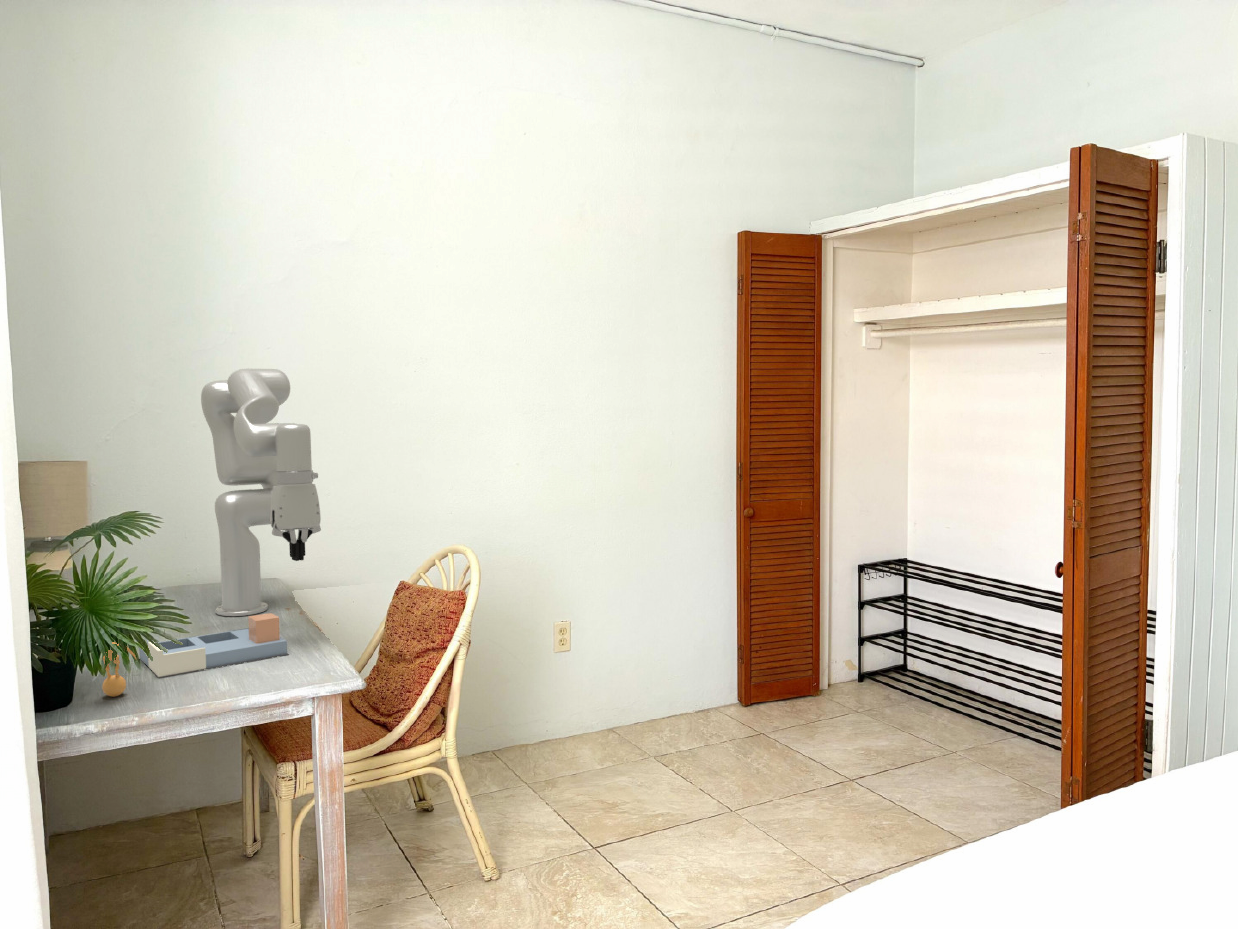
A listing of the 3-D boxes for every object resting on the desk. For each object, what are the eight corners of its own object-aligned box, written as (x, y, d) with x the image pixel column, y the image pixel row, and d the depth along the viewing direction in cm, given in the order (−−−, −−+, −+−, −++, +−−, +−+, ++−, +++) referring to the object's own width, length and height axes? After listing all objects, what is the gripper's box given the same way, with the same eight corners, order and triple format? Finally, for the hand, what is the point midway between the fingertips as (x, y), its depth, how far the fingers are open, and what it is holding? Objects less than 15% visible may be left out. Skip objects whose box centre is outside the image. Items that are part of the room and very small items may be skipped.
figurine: (141, 690, 177) (138, 629, 176) (135, 700, 171) (132, 637, 170) (92, 695, 175) (89, 632, 174) (84, 705, 169) (82, 641, 168)
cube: (248, 638, 203) (248, 616, 202) (271, 635, 206) (271, 613, 206) (256, 643, 199) (255, 621, 198) (279, 639, 202) (279, 617, 202)
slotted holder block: (139, 658, 198) (138, 633, 197) (262, 638, 214) (261, 615, 214) (159, 678, 185) (158, 651, 184) (288, 655, 201) (288, 630, 201)
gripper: (320, 476, 214) (323, 554, 215) (255, 480, 205) (258, 562, 206) (333, 477, 209) (336, 558, 210) (266, 481, 199) (269, 565, 200)
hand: (297, 559), depth 208 cm, fingers closed
